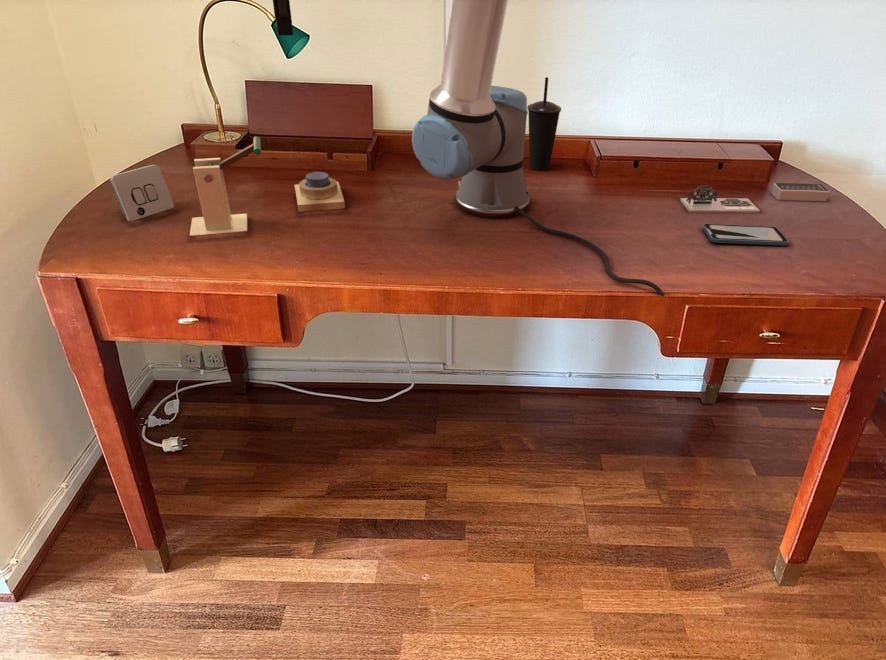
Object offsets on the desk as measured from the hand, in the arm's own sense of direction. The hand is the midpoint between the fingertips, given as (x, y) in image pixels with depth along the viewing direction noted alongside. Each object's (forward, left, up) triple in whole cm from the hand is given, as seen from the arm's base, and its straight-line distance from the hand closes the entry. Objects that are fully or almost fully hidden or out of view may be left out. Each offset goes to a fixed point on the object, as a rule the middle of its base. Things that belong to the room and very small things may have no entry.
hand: (284, 29), depth 133 cm
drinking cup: (-26, -48, -30) cm, 63 cm away
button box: (-15, +4, -30) cm, 34 cm away
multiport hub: (-74, -81, -30) cm, 114 cm away
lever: (-16, +21, -18) cm, 32 cm away
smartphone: (-78, -52, -30) cm, 99 cm away
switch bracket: (-14, +25, -30) cm, 42 cm away
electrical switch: (0, +34, -30) cm, 45 cm away
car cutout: (-66, -62, -30) cm, 96 cm away
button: (-15, +4, -26) cm, 30 cm away
